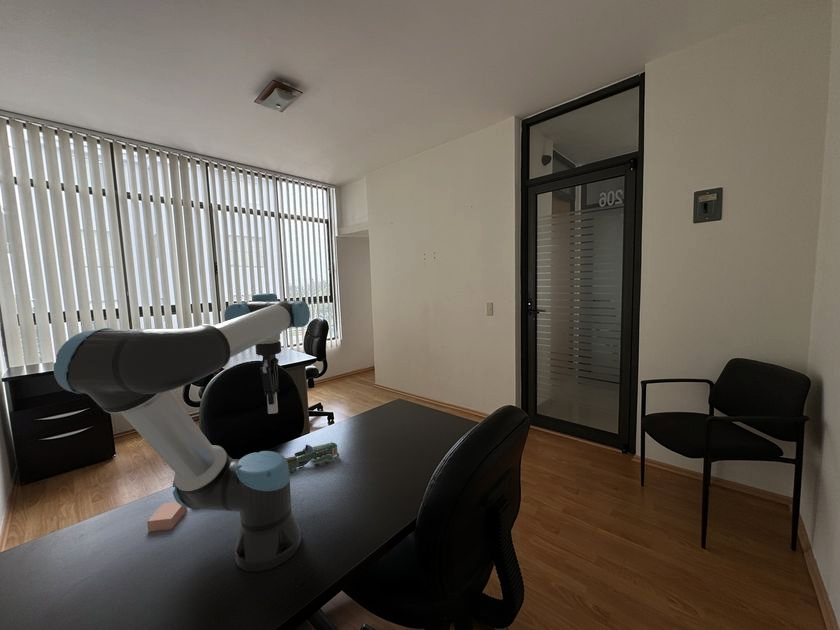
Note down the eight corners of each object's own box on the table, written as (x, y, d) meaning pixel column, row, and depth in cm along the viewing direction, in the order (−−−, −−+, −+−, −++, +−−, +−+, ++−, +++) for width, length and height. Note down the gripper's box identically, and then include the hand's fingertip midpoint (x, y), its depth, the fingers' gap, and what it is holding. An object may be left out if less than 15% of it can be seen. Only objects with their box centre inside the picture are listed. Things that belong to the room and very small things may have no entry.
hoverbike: (342, 462, 130) (341, 441, 129) (270, 484, 117) (268, 461, 116) (334, 452, 138) (333, 432, 137) (266, 472, 125) (264, 449, 125)
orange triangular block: (172, 528, 97) (171, 518, 96) (148, 531, 96) (147, 521, 96) (186, 510, 105) (186, 500, 104) (164, 512, 104) (163, 503, 103)
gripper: (275, 344, 107) (280, 419, 109) (284, 337, 120) (289, 404, 122) (249, 345, 106) (254, 421, 108) (261, 339, 119) (266, 406, 121)
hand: (273, 412), depth 115 cm, fingers closed
